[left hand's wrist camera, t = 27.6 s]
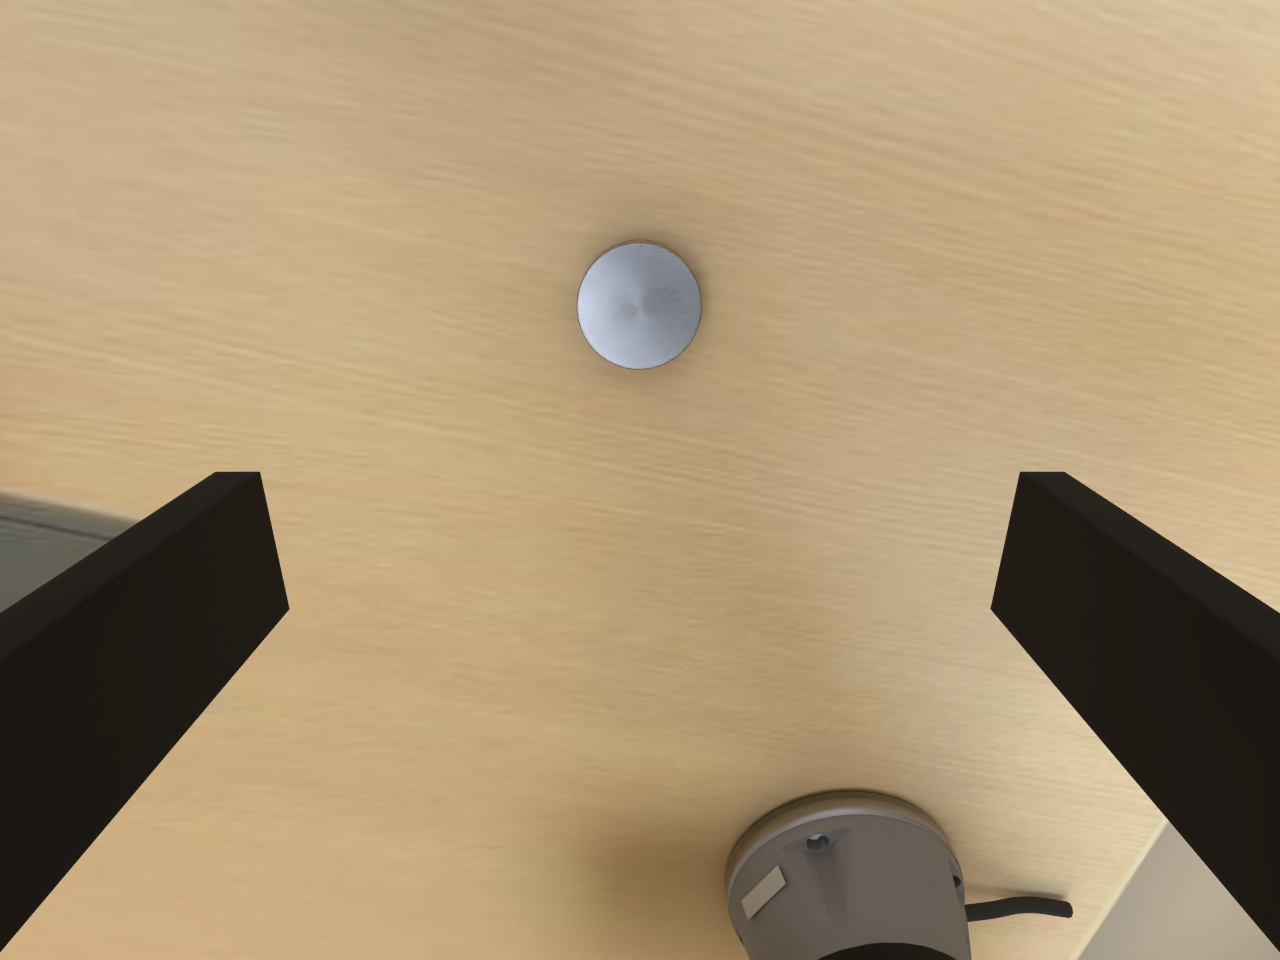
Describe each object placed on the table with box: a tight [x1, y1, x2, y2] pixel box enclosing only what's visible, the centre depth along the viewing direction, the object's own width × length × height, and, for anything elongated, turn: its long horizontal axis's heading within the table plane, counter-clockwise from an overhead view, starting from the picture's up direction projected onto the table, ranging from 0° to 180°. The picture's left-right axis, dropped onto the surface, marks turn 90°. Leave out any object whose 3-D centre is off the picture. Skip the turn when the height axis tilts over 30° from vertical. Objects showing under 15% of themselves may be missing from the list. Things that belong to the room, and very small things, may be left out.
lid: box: [577, 240, 702, 369], centre depth 33 cm, size 6×6×2 cm
